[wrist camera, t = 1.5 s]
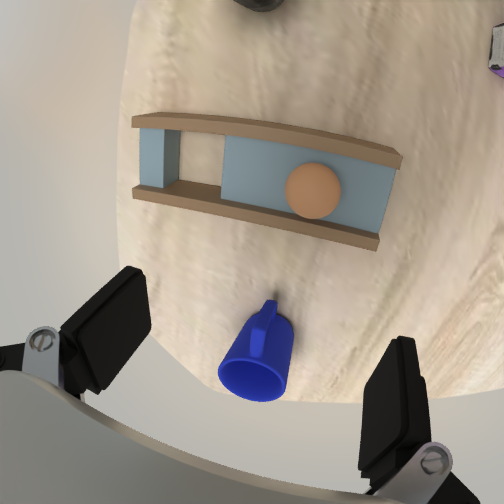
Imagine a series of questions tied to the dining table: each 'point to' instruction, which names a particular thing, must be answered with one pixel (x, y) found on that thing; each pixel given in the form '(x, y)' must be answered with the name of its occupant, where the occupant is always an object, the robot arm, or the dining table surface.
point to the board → (269, 174)
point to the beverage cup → (260, 4)
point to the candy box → (497, 51)
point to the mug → (259, 357)
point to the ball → (312, 190)
